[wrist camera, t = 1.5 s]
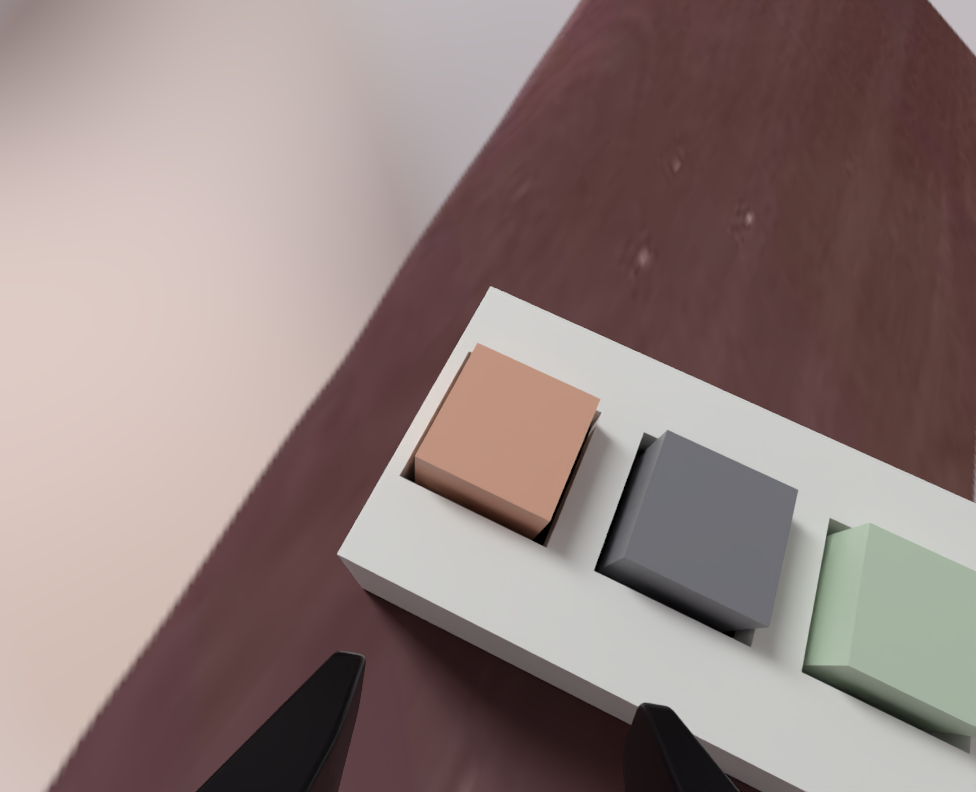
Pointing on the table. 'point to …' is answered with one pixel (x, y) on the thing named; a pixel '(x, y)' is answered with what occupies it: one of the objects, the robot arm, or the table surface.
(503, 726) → the table surface
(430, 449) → the terracotta button
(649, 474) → the charcoal button
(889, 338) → the table surface
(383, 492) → the button console
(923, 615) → the sage-green button
